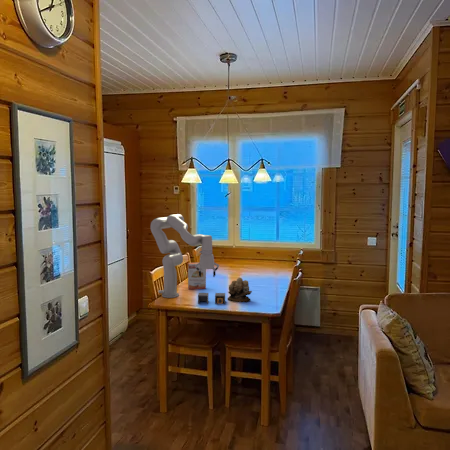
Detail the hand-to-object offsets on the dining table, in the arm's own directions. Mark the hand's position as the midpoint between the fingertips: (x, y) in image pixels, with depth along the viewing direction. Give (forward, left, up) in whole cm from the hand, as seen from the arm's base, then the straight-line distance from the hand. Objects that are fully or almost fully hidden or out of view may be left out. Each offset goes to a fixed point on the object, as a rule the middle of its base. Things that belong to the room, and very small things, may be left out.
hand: (207, 276), depth 290 cm
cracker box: (-11, +39, -19) cm, 45 cm away
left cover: (-3, 0, -19) cm, 19 cm away
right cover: (+9, 0, -19) cm, 21 cm away
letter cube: (+9, 0, -19) cm, 21 cm away
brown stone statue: (+23, +7, -19) cm, 31 cm away
